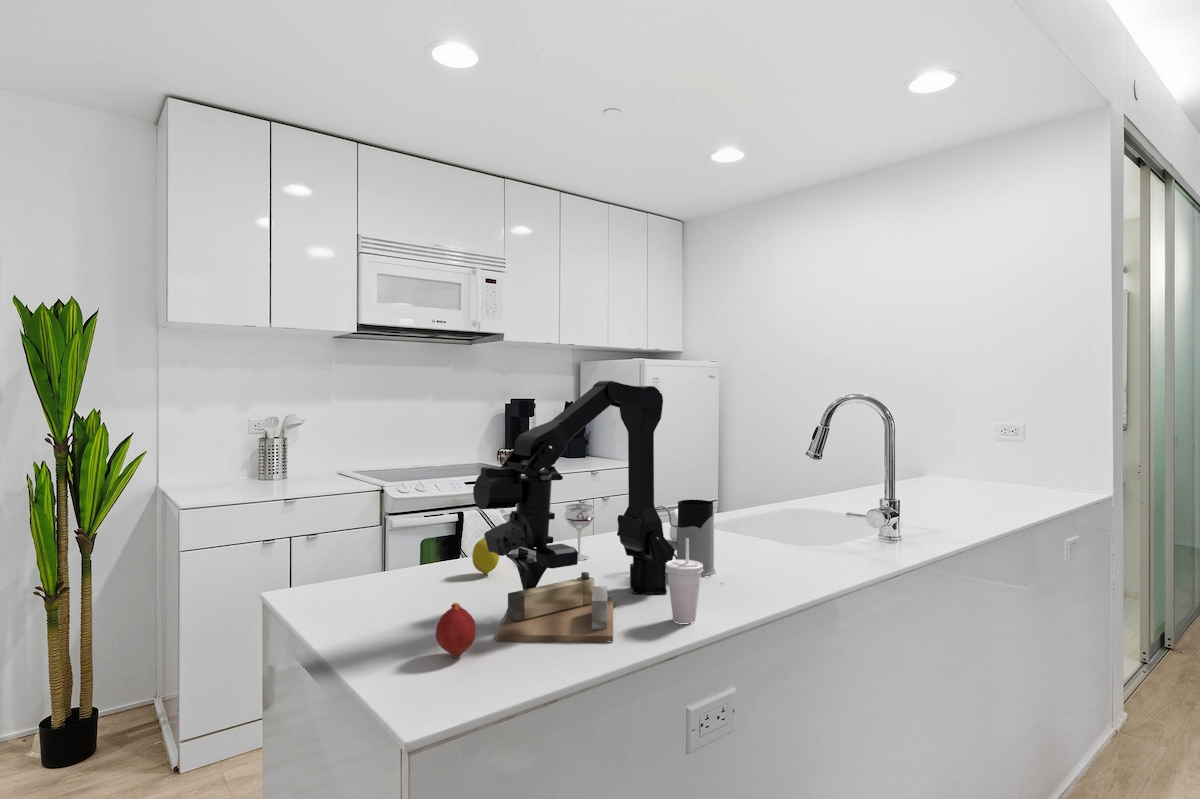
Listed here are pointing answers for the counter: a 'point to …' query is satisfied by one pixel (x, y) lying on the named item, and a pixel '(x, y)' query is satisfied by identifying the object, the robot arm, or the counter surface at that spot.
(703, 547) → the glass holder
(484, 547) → the lemon
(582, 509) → the wineglass
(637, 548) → the robot arm
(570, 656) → the counter surface
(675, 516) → the white rounded piece
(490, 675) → the counter surface
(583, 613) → the seat
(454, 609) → the onion
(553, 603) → the leg
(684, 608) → the smoothie
